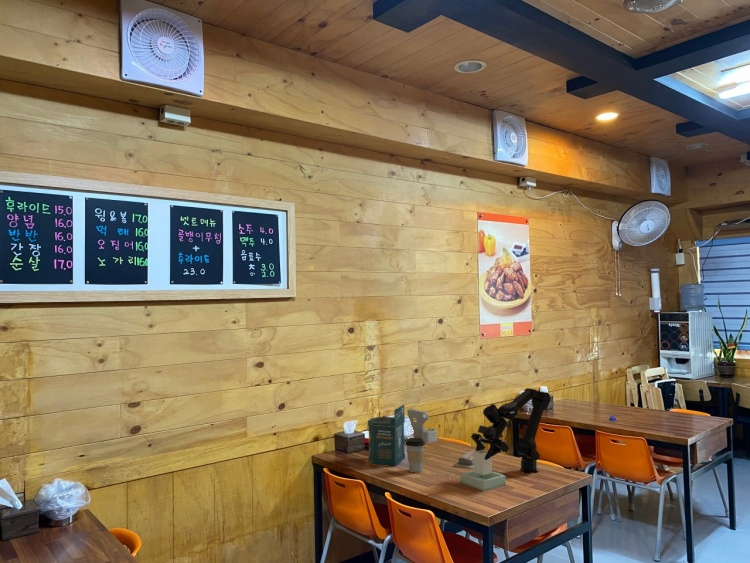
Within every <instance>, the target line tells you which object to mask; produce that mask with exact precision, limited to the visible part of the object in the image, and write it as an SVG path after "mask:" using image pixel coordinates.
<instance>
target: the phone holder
mask: <svg viewBox="0 0 750 563" xmlns="http://www.w3.org/2000/svg"><path fill="white" fill-rule="evenodd" d="M406 412H407V416H408V420H409V419H410V420H409V422H410V421H411V424H410V426H411V425H412V427H413V430H414V434H413V436H414V438H421V439H423V441H424V442H425V444H430V443H434V442H438V439H437V429H436V428H430V429H429V428H428V429H425V426H424V425H425V423H426V422H427V421H428V420H429V419H430V414H429V412H427V411H425V410H419V409H416V408H415V409H414V408H409V409H407V411H406ZM414 419H415V420H416V421H415V420H414ZM412 427H411V428H412ZM429 442H430V443H429Z"/></svg>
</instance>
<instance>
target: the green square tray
mask: <svg viewBox="0 0 750 563" xmlns="http://www.w3.org/2000/svg"><path fill="white" fill-rule="evenodd" d="M459 475H460V484H462V485H466V486H468V487H471V488H474V489H476V490H479V491H481V492H485V491H489V490H492V489H493V490H494V489H496V488H500V487H503V486H506V485H507V480H506V479H507V478H506V475H504V474H502V473H499V472H495V471H492V473H489V474H485V475H481V474H478V473H475V472H474V470H471V471H466V472H463V473H460V474H459Z"/></svg>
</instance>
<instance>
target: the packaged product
mask: <svg viewBox="0 0 750 563" xmlns="http://www.w3.org/2000/svg"><path fill="white" fill-rule="evenodd" d="M475 451H476V450H468V451H466V452H465V453H464V454H462V455H461V456H459V457H458V460H457V461H456V462H454V463H453V466H454V467H457V468H465V469H471V470H472V469H473V470H474V453H473V452H475Z"/></svg>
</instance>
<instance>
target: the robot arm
mask: <svg viewBox="0 0 750 563" xmlns="http://www.w3.org/2000/svg"><path fill="white" fill-rule="evenodd" d="M551 399H552V397H551V394H550V393H549V392H547V391H541V390H537V389H534V388H530V387H527V388H525V389H524V391H523V392H522V393H520V394H519V395H517V397H515V398H514V399H513V400H511V401H510V402H507V403H504V404H502V405H500V406H499V408H497V406H496V404H494V403H491V404H490V405H488V406H487V407H485V408H484V409H483V412H482V414H483V415H484V417H485V418H486V419H487V420H488V421H489V422H490V423H491V424H492V425H489V426H484V425H482V424H481V425H479V426H478V430H477V432H474V433H472V434H471V436H470V438H471V439H472V440H473V442H474V443H475V444H476V445H475V446H476V447H475V451H479V450H485V448H486V446H485V444H487V445H489V449H488V450H487V451H488V452H487V454H486V456H485V460H487V459H489V458H490V457H494V456H495V455H498V454H499V453H508V451H509V448H510V447H509V445H508V444H507V443H506V441H505V440H504V439H503V437H504V435H503V433H504V431H505V430H506V428H511V425H510V421H512V420H514V419H515V418H516V416H517V415H518V414H519V410H520V409H522V408H523V407H524V406H525V405H526V404H528V403H529V402H531V406H532V410H531V412H530V415H529V420H528V422H527V426H526V428H525V432H524V435H523V436H522V437H519V438H518V439H517V443H516V452H517V455H518V457H519V458H521V461H520V468H519V471H521V472H524V473H526V474H533V473H534V474H535V473H539V470H538V469H537V468H538V467H537V461H539V459H540V456H541V455H540V453H539V452H538V451H537V443H536V436H537V433H538V428H539V425H540V422H541V419H542V415H543V412H544V410H546V409H547V408H548V407H549V405H550V402H551ZM508 420H509V421H508ZM481 434H482V435H481ZM500 438H502V439H500Z"/></svg>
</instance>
